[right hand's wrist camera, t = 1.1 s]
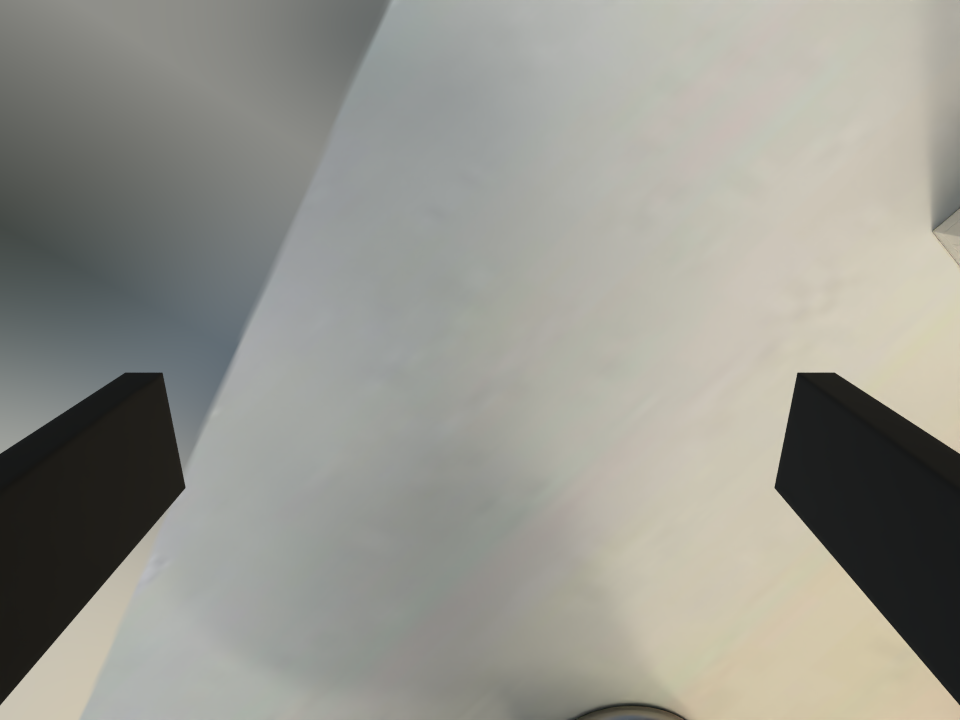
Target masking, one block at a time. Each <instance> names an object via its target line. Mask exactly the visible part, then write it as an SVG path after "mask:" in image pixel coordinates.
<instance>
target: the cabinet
mask: <svg viewBox="0 0 960 720" xmlns="http://www.w3.org/2000/svg"><path fill="white" fill-rule="evenodd" d="M933 233H934V234H935V235H936V236H937V238H938V239H939V240H940V242H941V243H942V244H943V245H944V247H945V248H946V249H947V250H948V252H949V253H950V254H951V255H952V257H953V258H954V259H955V260H956V262H957V263H958V264H959V265H960V209H959V210H957V211H956V212H955V213H954V214H953V215H951V216H950V217H949V218H948V219H947V220H946V221H944V222H943V223H942V224H941V225H940V226H938V227H937V228H936V229H935V230H934V231H933Z"/></svg>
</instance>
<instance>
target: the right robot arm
mask: <svg viewBox="0 0 960 720" xmlns="http://www.w3.org/2000/svg"><path fill="white" fill-rule="evenodd" d="M184 489H185V483H184V478H183V473H182V468H181V463H180V458H179V453H178V448H177V443H176V438H175V433H174V428H173V423H172V418H171V413H170V408H169V403H168V398H167V393H166V388H165V383H164V378H163V373H124V374H123V375H121V376H120V377H118V378H117V379H115V380H113V381H112V382H110V383H109V384H107V385H106V386H104V387H103V388H101V389H100V390H98V391H96V392H95V393H93V394H92V395H90V396H89V397H87V398H86V399H84V400H83V401H81V402H79V403H78V404H76V405H75V406H73V407H72V408H70V409H69V410H67V411H66V412H64V413H63V414H61V415H60V416H58V417H56V418H55V419H53V420H52V421H50V422H49V423H47V424H46V425H44V426H43V427H41V428H39V429H38V430H36V431H35V432H33V433H32V434H30V435H29V436H27V437H26V438H24V439H22V440H21V441H19V442H18V443H16V444H15V445H13V446H12V447H10V448H9V449H7V450H6V451H4V452H2V453H1V454H0V705H1V704H2V702H3V701H4V700H5V699H6V698H7V697H8V695H9V694H10V693H11V692H12V691H13V690H14V688H15V687H16V686H17V685H18V684H19V682H20V681H21V680H22V679H23V678H24V677H25V675H26V674H27V673H28V672H29V671H30V670H31V668H32V667H33V666H34V665H35V664H36V663H37V661H38V660H39V659H40V658H41V657H42V656H43V654H44V653H45V652H46V651H47V650H48V649H49V647H50V646H51V645H52V644H53V643H54V641H55V640H56V639H57V638H58V637H59V636H60V634H61V633H62V632H63V631H64V630H65V629H66V627H67V626H68V625H69V624H70V623H71V622H72V620H73V619H74V618H75V617H76V616H77V615H78V613H79V612H80V611H81V610H82V609H83V607H84V606H85V605H86V604H87V603H88V602H89V600H90V599H91V598H92V597H93V596H94V595H95V593H96V592H97V591H98V590H99V589H100V587H101V586H102V585H103V584H104V583H105V582H106V580H107V579H108V578H109V577H110V576H111V575H112V573H113V572H114V571H115V570H116V569H117V568H118V566H119V565H120V564H121V563H122V562H123V561H124V559H125V558H126V557H127V556H128V555H129V554H130V552H131V551H132V550H133V549H134V548H135V546H136V545H137V544H138V543H139V542H140V541H141V539H142V538H143V537H144V536H145V535H146V534H147V532H148V531H149V530H150V529H151V528H152V527H153V525H154V524H155V523H156V522H157V521H158V520H159V518H160V517H161V516H162V515H163V514H164V512H165V511H166V510H167V509H168V508H169V507H170V505H171V504H172V503H173V502H174V501H175V500H176V498H177V497H178V496H179V495H180V494H181V493H182V491H183V490H184ZM775 489H776V490H777V491H778V493H779V494H780V495H781V496H782V497H783V498H784V500H785V501H786V502H787V503H788V504H789V505H790V507H791V508H792V509H793V510H794V511H795V512H796V514H797V515H798V516H799V517H800V518H801V520H802V521H803V522H804V523H805V524H806V525H807V527H808V528H809V529H810V530H811V531H812V532H813V534H814V535H815V536H816V537H817V538H818V539H819V541H820V542H821V543H822V544H823V545H824V546H825V548H826V549H827V550H828V551H829V552H830V554H831V555H832V556H833V557H834V558H835V559H836V561H837V562H838V563H839V564H840V565H841V566H842V568H843V569H844V570H845V571H846V572H847V573H848V575H849V576H850V577H851V578H852V579H853V581H854V582H855V583H856V584H857V585H858V586H859V588H860V589H861V590H862V591H863V592H864V593H865V595H866V596H867V597H868V598H869V599H870V600H871V602H872V603H873V604H874V605H875V606H876V607H877V609H878V610H879V611H880V612H881V613H882V615H883V616H884V617H885V618H886V619H887V620H888V622H889V623H890V624H891V625H892V626H893V627H894V629H895V630H896V631H897V632H898V633H899V634H900V636H901V637H902V638H903V639H904V640H905V641H906V643H907V644H908V645H909V646H910V647H911V649H912V650H913V651H914V652H915V653H916V654H917V656H918V657H919V658H920V659H921V660H922V661H923V663H924V664H925V665H926V666H927V667H928V668H929V670H930V671H931V672H932V673H933V674H934V675H935V677H936V678H937V679H938V680H939V681H940V683H941V684H942V685H943V686H944V687H945V688H946V690H947V691H948V692H949V693H950V694H951V695H952V697H953V698H954V699H955V700H956V701H957V702H958V704H959V705H960V454H959V453H958V452H956V451H954V450H953V449H951V448H950V447H948V446H947V445H945V444H944V443H942V442H941V441H939V440H938V439H936V438H934V437H933V436H931V435H930V434H928V433H927V432H925V431H924V430H922V429H921V428H919V427H917V426H916V425H914V424H913V423H911V422H910V421H908V420H907V419H905V418H904V417H902V416H901V415H899V414H897V413H896V412H894V411H893V410H891V409H890V408H888V407H887V406H885V405H884V404H882V403H881V402H879V401H877V400H876V399H874V398H873V397H871V396H870V395H868V394H867V393H865V392H864V391H862V390H860V389H859V388H857V387H856V386H854V385H853V384H851V383H850V382H848V381H847V380H845V379H844V378H842V377H840V376H839V375H837V374H836V373H797V378H796V383H795V388H794V393H793V398H792V403H791V408H790V413H789V418H788V423H787V428H786V433H785V438H784V443H783V448H782V453H781V458H780V463H779V468H778V473H777V478H776V483H775ZM576 720H684V719H682V718H680V717H678V716H676V715H674V714H672V713H669V712H666V711H663V710H660V709H656V708H650V707H642V706H620V707H612V708H607V709H602V710H598V711H595V712H592V713H589V714H586V715H584V716H582V717H580V718H578V719H576Z"/></svg>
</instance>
